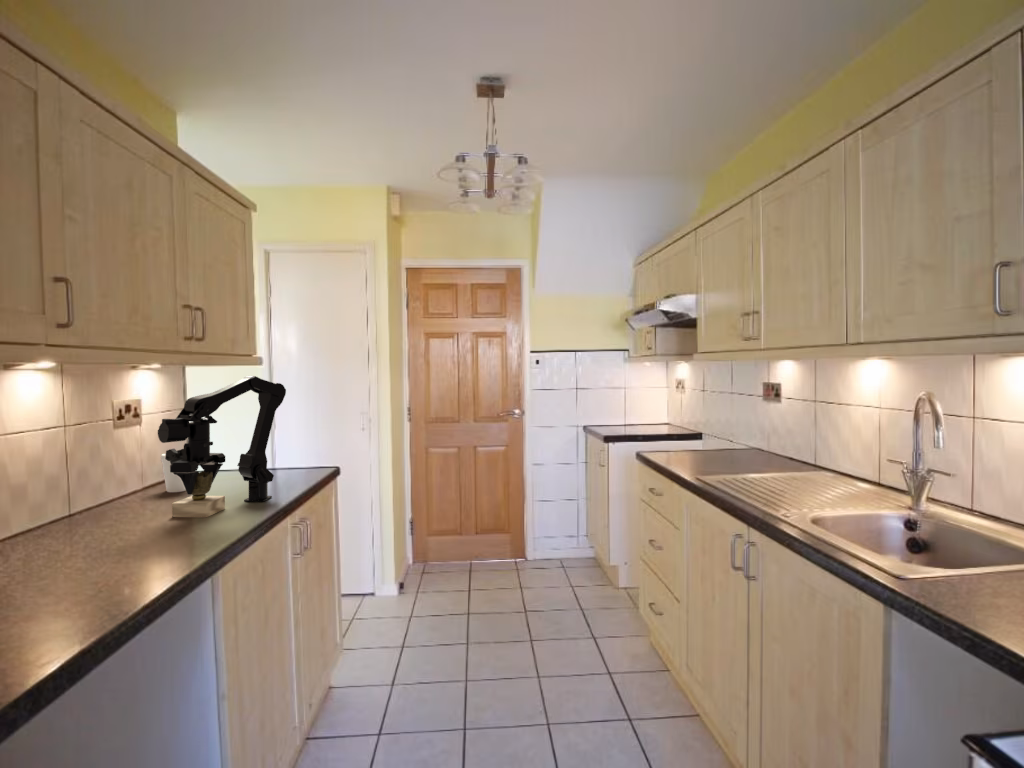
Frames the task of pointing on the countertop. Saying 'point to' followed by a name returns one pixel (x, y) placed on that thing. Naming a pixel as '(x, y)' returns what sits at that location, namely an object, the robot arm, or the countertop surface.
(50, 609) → the countertop surface
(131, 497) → the countertop surface
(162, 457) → the foam cup
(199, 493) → the cup
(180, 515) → the pedestal
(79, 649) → the countertop surface
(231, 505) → the countertop surface
